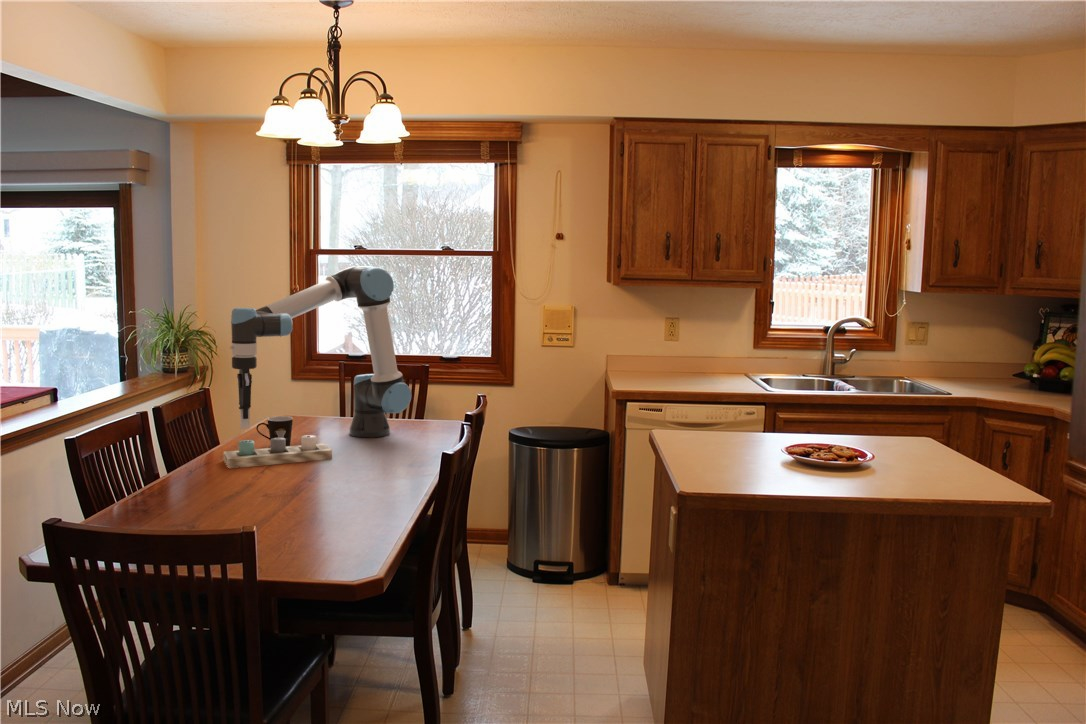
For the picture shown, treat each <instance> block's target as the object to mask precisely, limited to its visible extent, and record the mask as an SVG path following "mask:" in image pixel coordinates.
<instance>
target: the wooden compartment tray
mask: <svg viewBox="0 0 1086 724" xmlns="http://www.w3.org/2000/svg"><path fill="white" fill-rule="evenodd" d="M222 455H223V462H224V461H225V462H224V464H225V463H226V464H225V466H226V465H227V466H226V467H228V468H229V469H237V468H238V469H239V467H240V468H249V467H258V466H259V467H260V466H269V465H270V466H271V465H282V464H292V463H301V462H313V461H324V460H326V461H327V460H332V459H333V450H332V448H330V447H329V446H328V445H327V444H326V443H316V450H308V451H302V450H301V444H299V445H290V446H286V452H285V453H274V454H271V447H264V448H254V455H251V456H239V450H228V451H223V454H222ZM228 468H227V469H228Z"/></svg>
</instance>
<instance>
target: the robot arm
mask: <svg viewBox="0 0 1086 724" xmlns="http://www.w3.org/2000/svg"><path fill="white" fill-rule="evenodd" d="M394 286H395V284H394V279H393V277H392V275H391V274H390V272H389V271H388V270H386V269H384V268H383V267H380V266H375V265H353V266H350V267H346V268H344V269H342V270H340V271H338V272H336V273H334V274H330V275H328V276H326V278H325V280H324V281H321V282H320V283H317V284H314V285H312V286H310V287H308V288H306V289H305V288H304V289H303V290H300V291H298V292H296V293H293V294H291V295H288V296H286V297H284V298H282V299H278V300H277V301H274V302H272V303H270V304H267V305H265V306H262V307H259V308H257V309H255V308H253V307H235V308H233V309H232V310H231V317H230V318H231V319H230V324H231V325H230V327H231V345H230V346H229V349H231V355H232V357H231V368H232V369H235V370H238V371H239V372H238V373H237V374H236V375H237V376H236V378H237V382H238V383H237V385H238V405H239V406H238V409H239V411H240V412H239V414H240V415H239V416H240V418H239V421H240V423H239V425H240V427H239V428H240V429H242V430H245V429H250V428H251V422H250V421H251V419H250V418H251V417H250V415H251V414H250V410H251V407H252V404H251V403H252V383H253V380H252V379H253V378H252V377H253V375H252V374H251V373H250V370H251V369H252V370H253V369H256V368H257V366H258V364H257V363H258V362H257V360H258V359H257V355H258V350H257V348H258V347H257V346H258V345H257V338H266V337H280V338H281V337H286V336H287V337H288V336H289V335H291V333H293V332H292V331H293V329H294V328H293V326H294V325H293V319H294V318H296V317H298V316H301V315H303V314H305V313H308V312H310V311H312V310H314V309H315V310H316V309H317V308H319V307H321V306H325V305H327V304H328V303H331V302H334V301H335V302H340V301H343V300H346V299H352V298H355V299H356V302H357V307H358V308H359V309H361V310H362V311H363V312H362V313H363V319H364V324H365V330H366V334H367V340H368V346H369V351H370V357H371V364H372V371H373V373H365V374H357V375H355V376H354V379H353V417H352V420H351V423H350V425H349V426H350V427H349V435H350V436H352V437H354V438H356V437H357V438H379V437H386V436H388V435H390V433H391V427H390V424H389V421H388V418H387V417H388V416H387V415H386V413H387V414H400V413H401V412H403V411H405V410H406V409H407V407H408V406H409V404H410V402H411V400H412V391H411V388H410V386H408V384H406V383H405V382H404V381H405V380H404V375H403V373H402V372H401V371H399V369H398V366H397V359H396V353H395V347H394V341H393V334H392V330H391V329H392V328H391V323H390V316H389V311H388V306H389V305H390V303H391V296H392V295H393V292H394V289H395V287H394Z"/></svg>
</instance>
